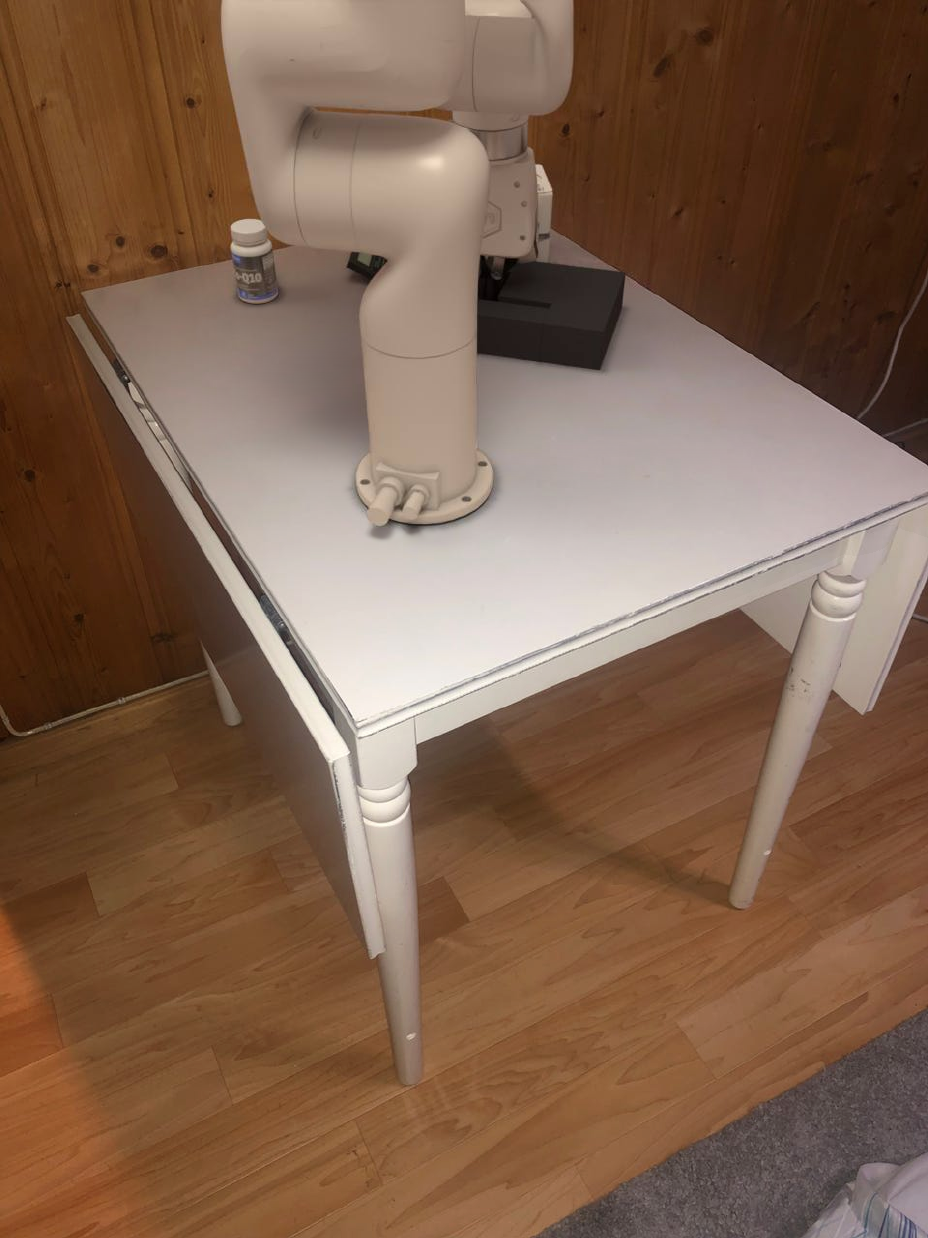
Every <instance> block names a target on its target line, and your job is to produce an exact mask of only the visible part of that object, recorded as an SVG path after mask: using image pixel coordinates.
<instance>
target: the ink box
mask: <svg viewBox="0 0 928 1238" xmlns="http://www.w3.org/2000/svg"><path fill="white" fill-rule="evenodd" d="M535 165H536V174H537V188H538V232H537V237H536V243H537V248H538V257H537V259H536V261H537V262H545V263H549V262H550V261H549V259H550V243H551V228H552V227H551V225H552V224H551V223H552V210H553V208H552V207H553V195H554V194H553V193H554V192H553V188H552V184H551V183H550V180H549V178H548V176H547V174H546V172H545V169H544V166H543V165H542V164H535Z"/></svg>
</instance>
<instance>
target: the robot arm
mask: <svg viewBox="0 0 928 1238" xmlns="http://www.w3.org/2000/svg"><path fill="white" fill-rule="evenodd" d="M220 21H221V22H220V29H221V41H222V50H223V57H224V62H225V68H226V74H227V80H228V84H229V87H230V93H231V98H232V102H233V106H234V111H235V116H236V121H237V126H238V130H239V135H240V141H241V145H242V149H243V153H244V158H245V159H244V160H245V162H246V163H245V164H246V168H247V173H248V177H249V178H248V179H249V183H250V186H251V191H252V195H253V199H254V204H255V207H256V210H257V212H258V215H259V218H260V220H261V221H262V223H263V224H264V226H265V228H266V229H267V233H268V234H270V236H271V237H273V238H274V239H276V240H277V241H279V242H281V243H283V244H285V245H289V246H292V247H293V246H294V247H299V248H306V249H307V248H308V249H317V250H328V251H340V252H350V253H351V252H361V253H365V254H371V255H378V256H381V257H384V258H386V259H387V260H388V261H387V263H386V264H385V265H384V266H383V267H382V268H381V269H380V270H379V272H378V273H377V274H376V275H375V276H374V278H373V279H372V280H370V281H369V283H368V285H367V286H366V288H365V290H364V292H363V294H362V297H361V300H360V303H359V304H360V305H359V313H358V314H359V318H358V319H359V331H360V340H361V352H362V353H361V355H362V365H363V366H362V367H363V376H364V379H363V380H364V389H365V401H366V413H367V415H366V416H367V424H368V425H367V426H368V437H369V439H368V440H369V450H370V451H369V452H368V453H367V454H365V456H364V457H363V458H362V459H361V461H360V462H359V464H358V465H357V468H356V471H355V487H356V491H357V494H358V496H359V498H360V500H361V501H362V502H363V504H365V506H367V508H368V509H367V511H366V518H367V520H368V521H369V523H371V524H372V525H374V526H378V527H382V526H385V525H386V524H387V523H388V522H389V520H392V521H395V522H399V523H405V524H411V525H432V524H433V525H434V524H442V523H446V522H451V521H454V520H456V519H459V518H462V517H465V516H467V515H468V514H470V513H472V512H474V511H475V510H477V509H478V508H479V507H480V506H482V505H483V504H484V503H485V502H486V500H487V499H488V498H489V497H490V495H491V492H492V489H493V485H494V469H493V466H492V463H491V461H490V459H489V458H488V457H487V456H486V454H485V453H483V451H482V450H480V449H479V448H478V447H477V433H478V432H477V429H478V427H477V421H478V418H477V413H478V410H477V408H478V407H477V405H478V403H477V402H478V401H477V400H478V399H477V398H478V397H477V396H478V353H477V299H480V300H488V301H495V302H498V295H499V293H500V292H501V290H502V288H503V275H504V274H505V273H506V272H507V271H509V270H510V269H511V268H512V267H513V266H515V265H516V264H526V263H533V262H535V261H536V259H537V257H538V248H537V243H536V237H537V232H538V188H537V174H536V165H537V164H536V160H535V153H534V149H533V148H531V147H529V146H528V145H529V144H528V142H529V119H530V116H545V115H549V114H551V113H553V112H555V111H556V110H558V109H559V108H560V107H561V106H562V104H563V103H564V101H565V100H566V98H567V96H568V93H569V91H570V88H571V83H572V78H573V77H572V76H573V69H574V0H221V5H220ZM318 107H319V108H331V109H332V108H334V109H349V110H363V111H379V112H380V111H381V112H419V111H426V110H430V109H437V110H442V111H451V112H452V117H451V118H450V119H447V120H443V119H440V118H433V117H426V116H417V115H401V114H400V115H399V114H386V113H374V112H372V113H357V112H356V113H354V112H342V111H327V110H325V111H324V110H317V109H316V108H318ZM488 256H492V257H494V261H493V266H492V268H491V269H490V267H489V266H488V264H487V263H486V259H487V257H488Z"/></svg>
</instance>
